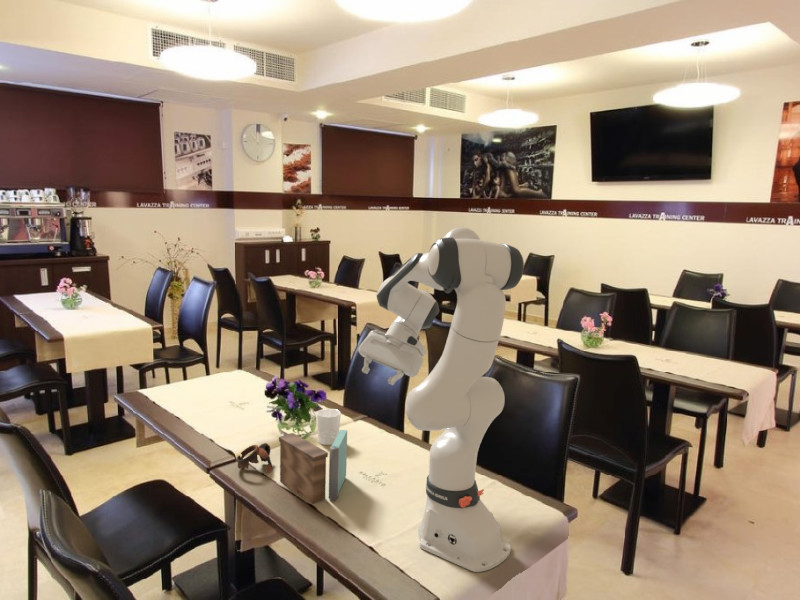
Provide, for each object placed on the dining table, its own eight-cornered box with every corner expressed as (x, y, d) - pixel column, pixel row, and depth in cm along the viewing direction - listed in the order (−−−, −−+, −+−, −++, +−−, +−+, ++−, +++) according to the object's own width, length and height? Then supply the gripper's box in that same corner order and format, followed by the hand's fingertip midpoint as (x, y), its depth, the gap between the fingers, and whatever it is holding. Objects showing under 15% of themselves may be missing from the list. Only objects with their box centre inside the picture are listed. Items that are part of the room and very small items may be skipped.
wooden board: (326, 498, 149) (327, 452, 147) (312, 504, 146) (313, 457, 144) (292, 476, 161) (292, 433, 159) (278, 480, 157) (278, 437, 155)
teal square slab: (336, 500, 148) (337, 450, 145) (327, 499, 148) (328, 449, 146) (346, 475, 161) (347, 430, 159) (338, 475, 161) (339, 429, 159)
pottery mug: (267, 480, 159) (251, 458, 156) (242, 488, 162) (227, 466, 160) (284, 453, 169) (270, 432, 167) (260, 461, 173) (246, 440, 171)
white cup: (335, 447, 181) (336, 418, 179) (312, 444, 183) (313, 415, 181) (342, 437, 189) (343, 410, 187) (320, 435, 190) (321, 407, 189)
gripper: (368, 323, 169) (345, 361, 164) (425, 344, 159) (402, 385, 154) (375, 332, 174) (353, 370, 169) (431, 354, 164) (408, 394, 159)
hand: (377, 378), depth 161 cm, fingers open, 8 cm apart
